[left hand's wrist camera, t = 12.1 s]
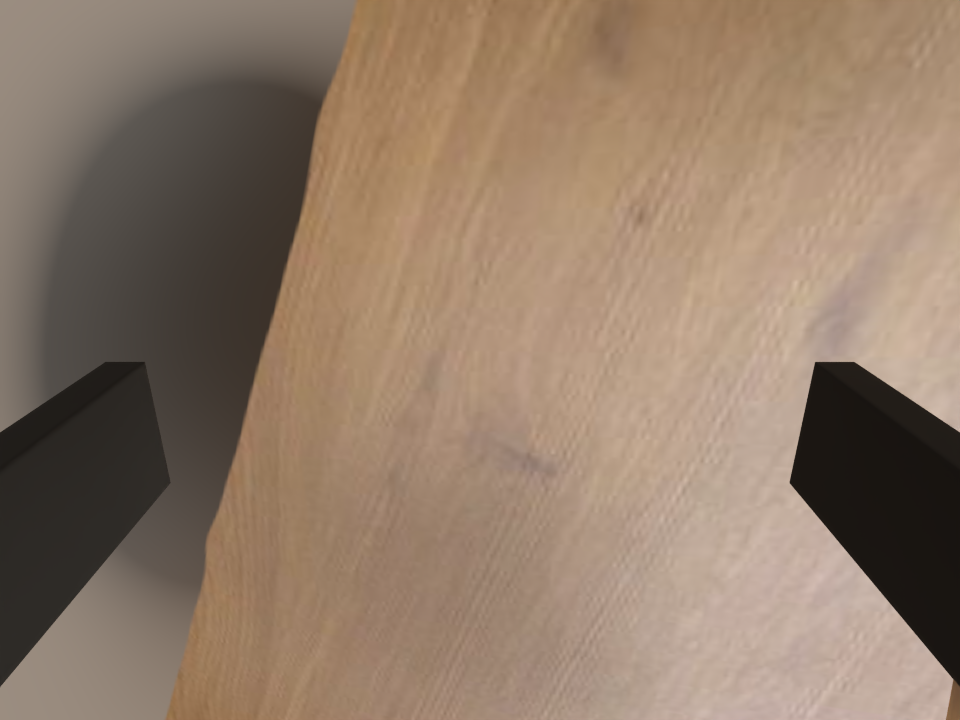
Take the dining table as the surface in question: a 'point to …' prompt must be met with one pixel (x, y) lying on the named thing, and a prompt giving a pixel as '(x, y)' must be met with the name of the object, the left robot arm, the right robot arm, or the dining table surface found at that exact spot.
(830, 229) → the dining table surface
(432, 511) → the dining table surface
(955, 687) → the bar
